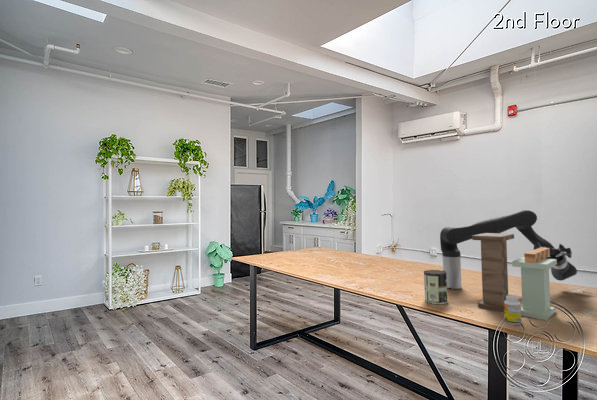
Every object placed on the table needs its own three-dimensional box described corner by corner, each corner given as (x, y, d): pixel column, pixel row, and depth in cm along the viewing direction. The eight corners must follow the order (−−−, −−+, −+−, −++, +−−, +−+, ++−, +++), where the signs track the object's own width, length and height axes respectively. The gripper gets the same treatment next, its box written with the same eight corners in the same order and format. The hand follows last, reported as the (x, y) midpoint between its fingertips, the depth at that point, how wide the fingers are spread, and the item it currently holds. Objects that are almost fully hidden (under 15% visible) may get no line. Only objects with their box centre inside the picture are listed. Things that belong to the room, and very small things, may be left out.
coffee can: (444, 298, 170) (443, 269, 171) (450, 304, 160) (449, 274, 160) (422, 298, 172) (421, 269, 172) (426, 304, 162) (425, 273, 162)
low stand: (549, 321, 135) (546, 264, 135) (514, 314, 144) (512, 261, 144) (558, 312, 146) (556, 259, 146) (525, 306, 154) (523, 256, 155)
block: (534, 262, 139) (534, 254, 139) (524, 262, 142) (524, 253, 142) (549, 255, 155) (549, 248, 155) (540, 255, 158) (540, 247, 158)
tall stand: (504, 313, 146) (501, 236, 147) (474, 307, 155) (472, 235, 156) (516, 305, 157) (514, 233, 158) (488, 300, 166) (485, 232, 166)
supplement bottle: (506, 319, 138) (505, 293, 138) (522, 322, 135) (521, 295, 135) (503, 323, 134) (502, 296, 134) (520, 326, 130) (519, 298, 131)
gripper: (540, 250, 177) (531, 237, 168) (575, 253, 167) (568, 238, 157) (538, 264, 175) (530, 251, 165) (574, 267, 164) (567, 254, 155)
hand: (548, 245), depth 161 cm, fingers open, 8 cm apart
